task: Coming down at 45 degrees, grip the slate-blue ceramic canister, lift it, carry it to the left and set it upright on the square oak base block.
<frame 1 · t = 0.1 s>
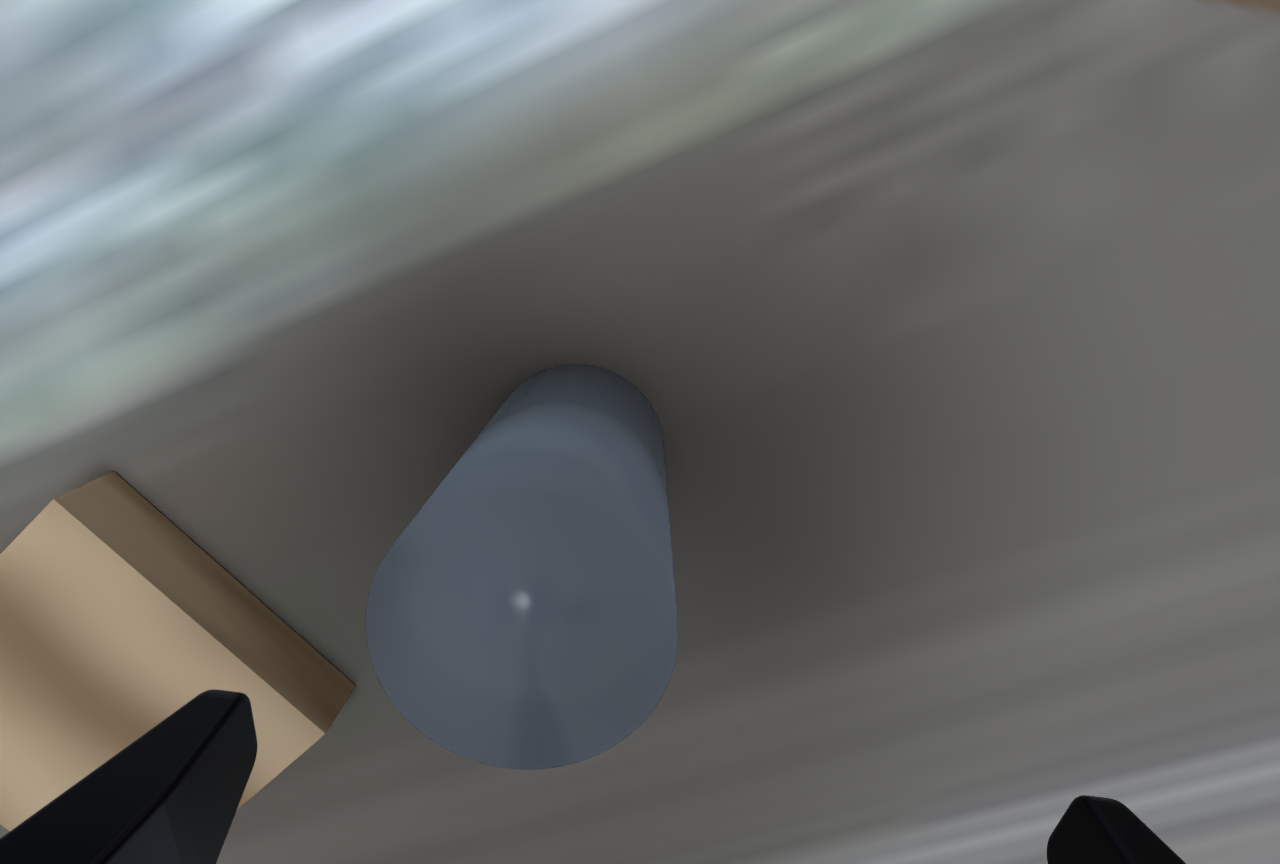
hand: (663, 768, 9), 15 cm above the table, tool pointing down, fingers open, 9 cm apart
oak base block: (140, 675, 26), on the table
canister: (577, 449, 24), on the table
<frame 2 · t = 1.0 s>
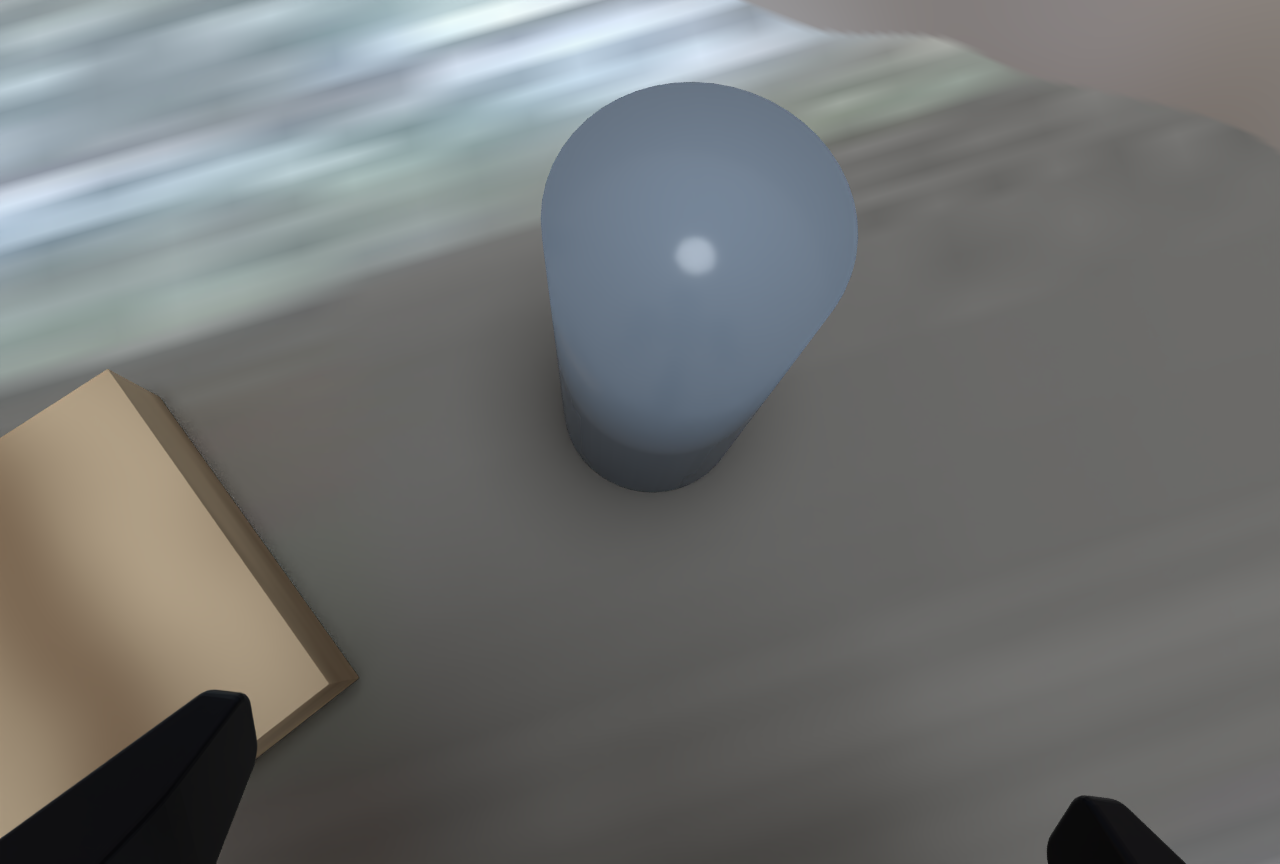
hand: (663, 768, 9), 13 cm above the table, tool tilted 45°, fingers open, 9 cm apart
oak base block: (91, 650, 21), on the table
canister: (651, 406, 23), on the table
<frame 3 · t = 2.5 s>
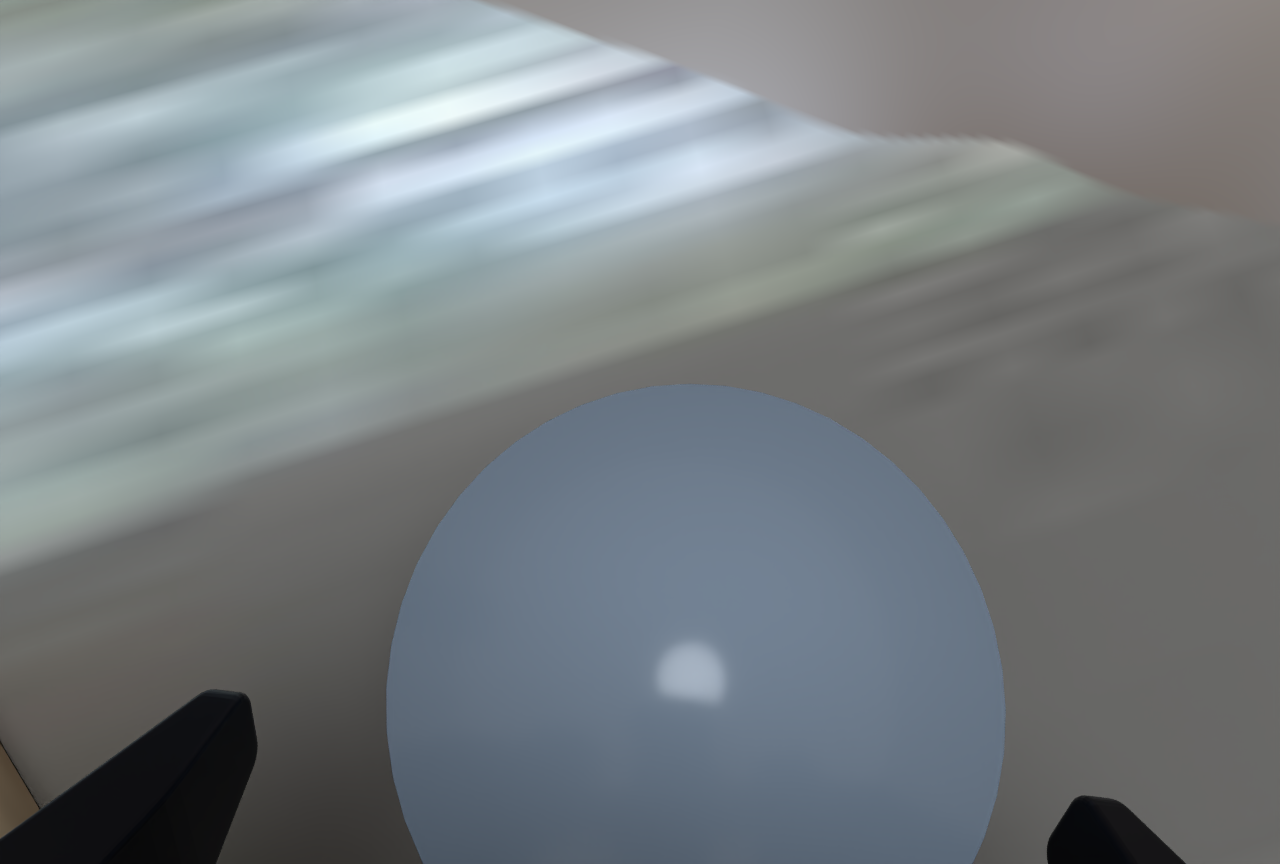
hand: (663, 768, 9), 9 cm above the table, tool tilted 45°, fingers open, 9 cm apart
canister: (632, 659, 17), on the table
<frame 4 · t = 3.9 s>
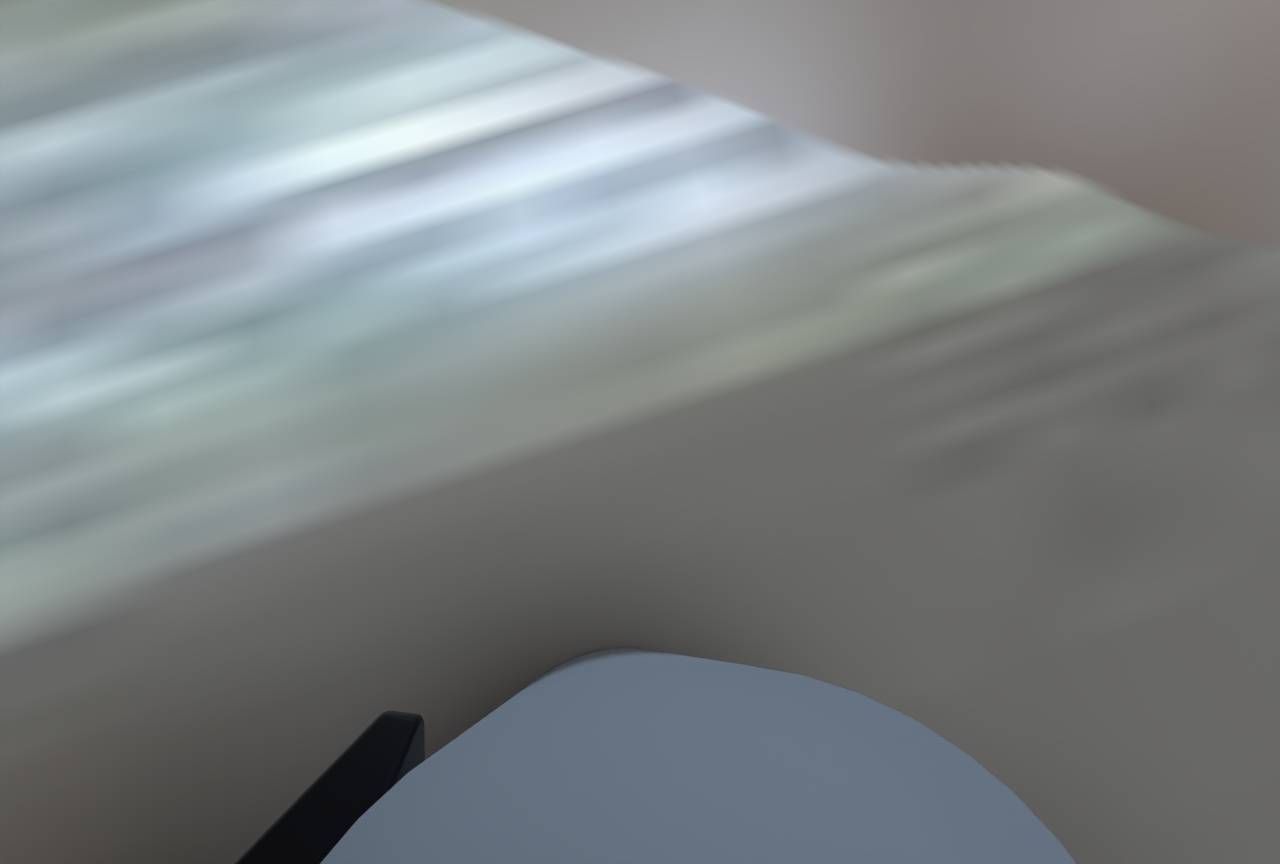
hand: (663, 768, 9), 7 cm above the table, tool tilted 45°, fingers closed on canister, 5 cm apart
canister: (622, 793, 15), on the table, touching gripper
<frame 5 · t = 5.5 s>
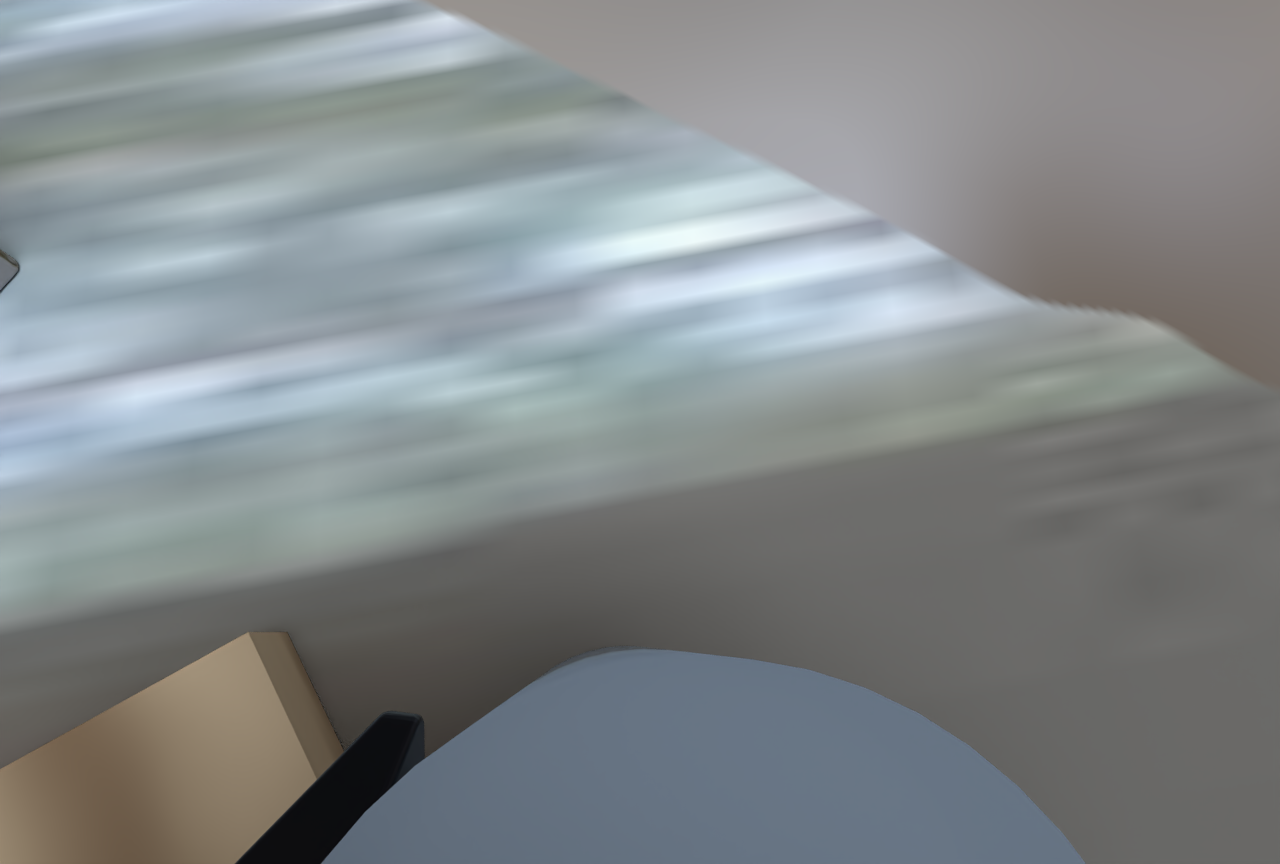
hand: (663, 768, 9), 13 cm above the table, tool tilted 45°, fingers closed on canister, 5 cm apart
canister: (624, 791, 15), point 7 cm above the table, touching gripper
when the fingers open (10 cm above the table, at t = 7.5 s): canister drops 1 cm, resting on oak base block.
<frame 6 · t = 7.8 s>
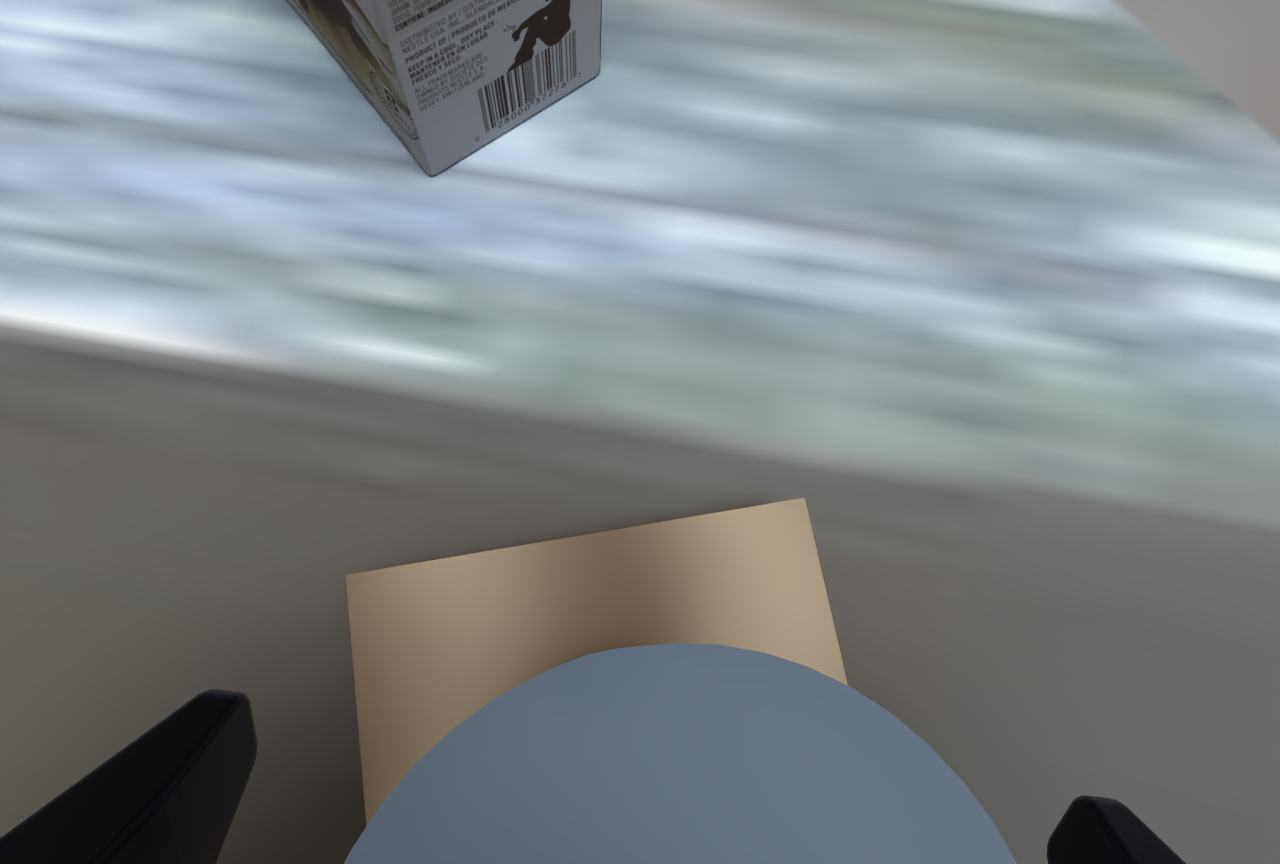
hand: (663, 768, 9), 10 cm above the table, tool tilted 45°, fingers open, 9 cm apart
oak base block: (616, 762, 18), on the table
canister: (620, 783, 16), point 3 cm above the table, touching oak base block
coffee box: (432, 25, 23), on the table
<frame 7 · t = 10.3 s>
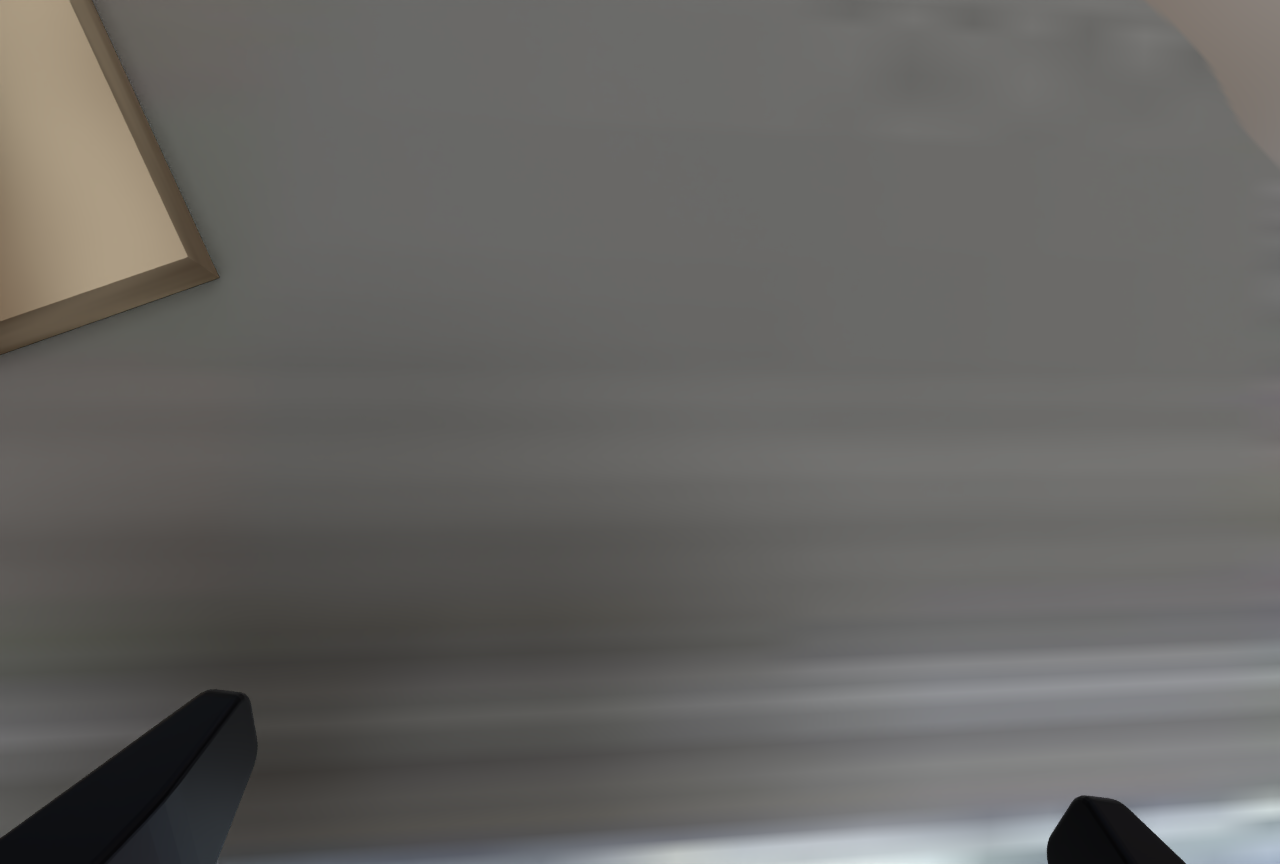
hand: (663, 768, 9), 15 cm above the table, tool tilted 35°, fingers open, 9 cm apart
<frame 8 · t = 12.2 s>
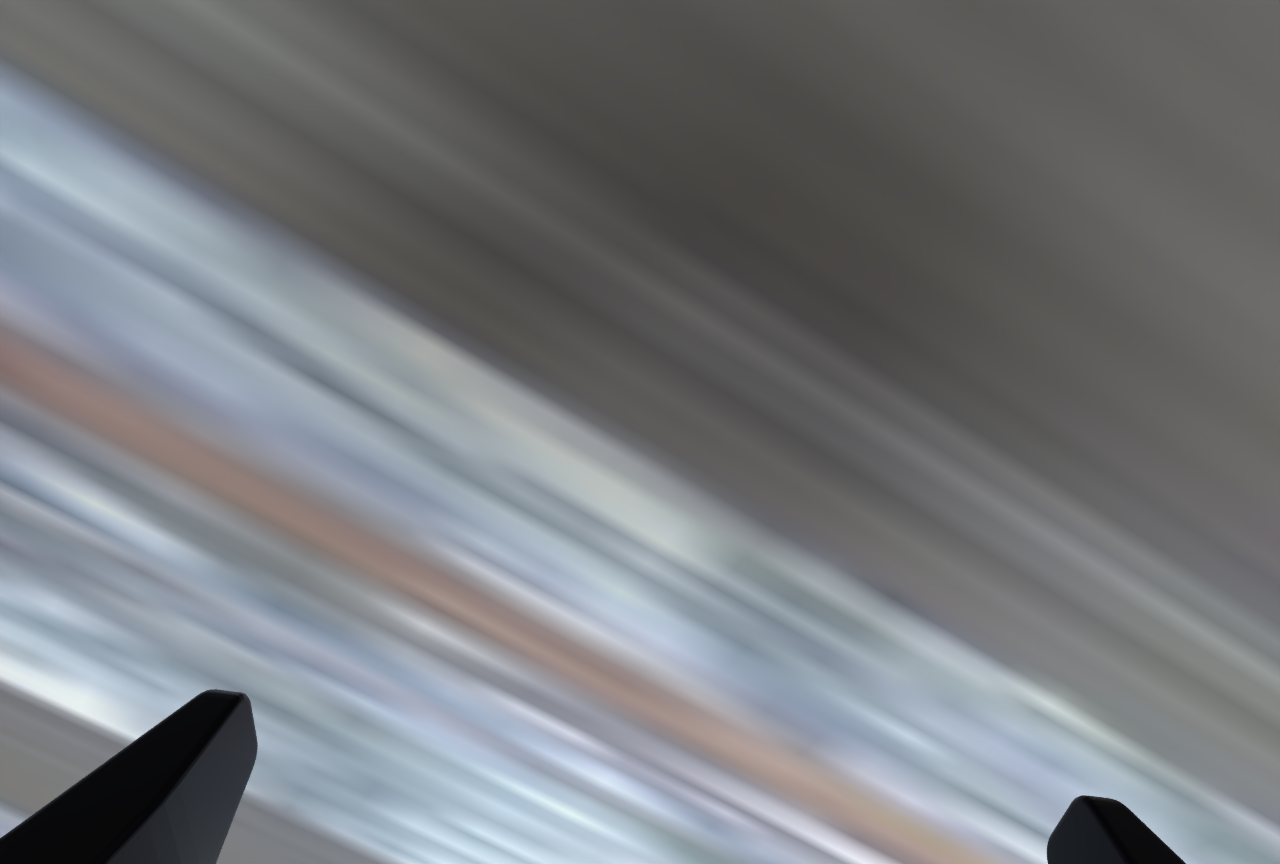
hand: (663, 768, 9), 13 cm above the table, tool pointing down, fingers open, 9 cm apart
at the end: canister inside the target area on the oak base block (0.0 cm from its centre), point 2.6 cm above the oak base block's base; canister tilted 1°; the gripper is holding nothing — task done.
